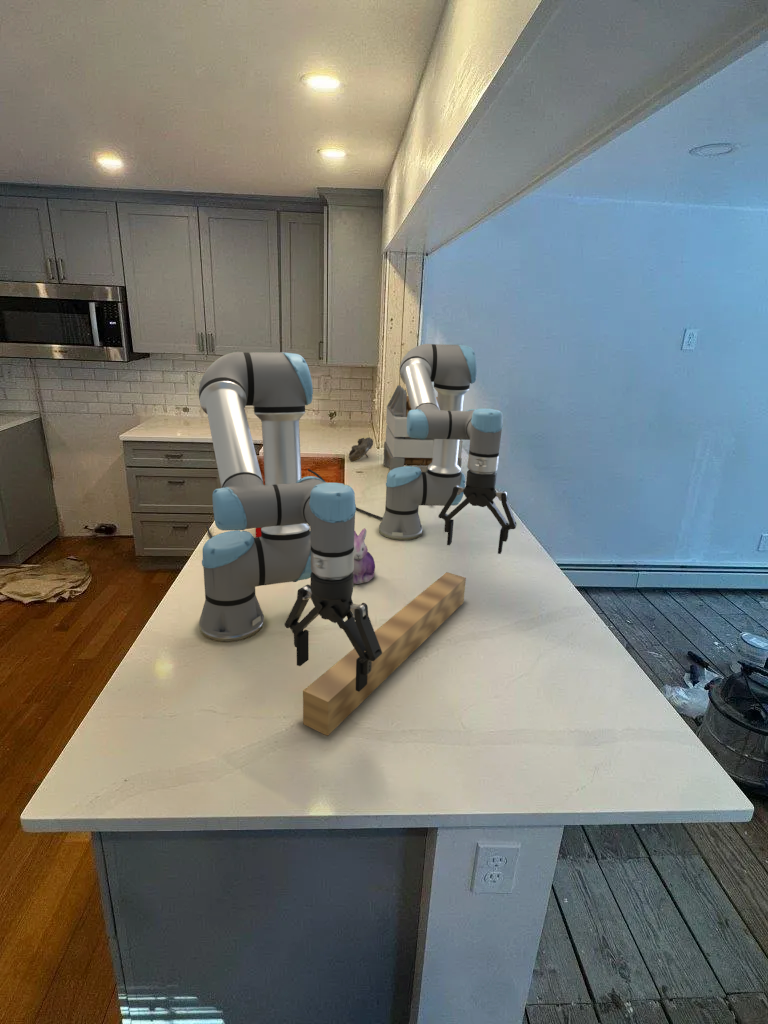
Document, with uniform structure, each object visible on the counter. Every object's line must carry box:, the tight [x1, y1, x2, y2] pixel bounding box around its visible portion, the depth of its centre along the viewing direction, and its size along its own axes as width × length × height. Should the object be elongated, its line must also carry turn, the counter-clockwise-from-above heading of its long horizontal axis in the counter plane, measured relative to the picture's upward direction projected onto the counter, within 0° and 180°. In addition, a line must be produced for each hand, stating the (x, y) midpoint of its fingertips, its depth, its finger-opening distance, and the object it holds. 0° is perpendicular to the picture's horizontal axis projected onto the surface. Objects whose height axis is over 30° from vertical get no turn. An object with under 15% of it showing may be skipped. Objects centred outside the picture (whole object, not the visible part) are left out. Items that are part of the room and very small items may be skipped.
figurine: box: [353, 527, 376, 585], centre depth 163 cm, size 9×10×15 cm
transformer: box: [383, 384, 464, 471], centre depth 268 cm, size 34×33×41 cm
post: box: [302, 571, 467, 737], centre depth 130 cm, size 62×6×8 cm, turn 149°
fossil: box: [348, 436, 374, 462], centre depth 297 cm, size 22×10×15 cm
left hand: (331, 674), depth 106 cm, fingers open, 13 cm apart
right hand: (474, 547), depth 151 cm, fingers open, 13 cm apart
